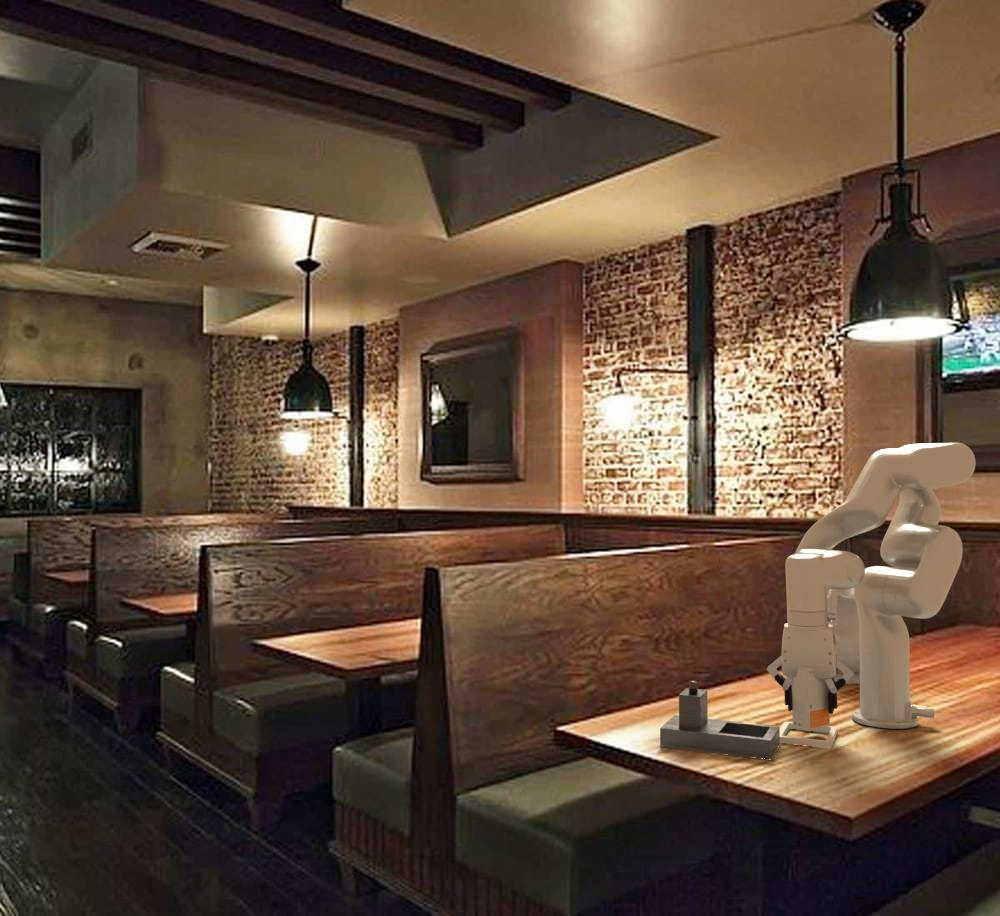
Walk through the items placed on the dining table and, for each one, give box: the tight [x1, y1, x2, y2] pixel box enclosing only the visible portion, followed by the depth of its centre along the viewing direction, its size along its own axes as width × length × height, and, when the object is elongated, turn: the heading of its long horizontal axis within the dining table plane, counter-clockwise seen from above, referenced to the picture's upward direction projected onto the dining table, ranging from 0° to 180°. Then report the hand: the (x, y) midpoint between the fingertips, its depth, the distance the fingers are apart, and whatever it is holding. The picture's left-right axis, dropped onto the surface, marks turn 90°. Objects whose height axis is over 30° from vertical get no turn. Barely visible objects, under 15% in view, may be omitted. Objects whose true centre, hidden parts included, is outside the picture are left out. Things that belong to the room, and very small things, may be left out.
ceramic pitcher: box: [827, 588, 860, 686], centre depth 235 cm, size 22×20×25 cm
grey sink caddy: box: [659, 680, 781, 760], centre depth 179 cm, size 20×10×12 cm, turn 65°
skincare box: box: [791, 667, 831, 732], centre depth 185 cm, size 6×4×12 cm
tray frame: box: [780, 721, 838, 750], centre depth 184 cm, size 10×12×1 cm
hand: (811, 710), depth 185 cm, fingers closed on skincare box, 6 cm apart
